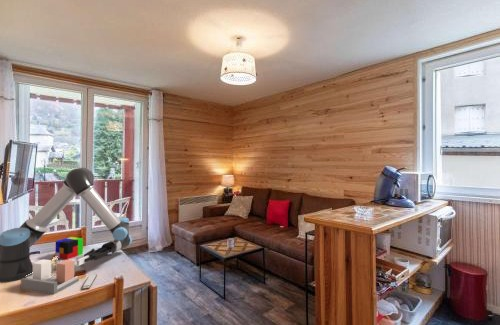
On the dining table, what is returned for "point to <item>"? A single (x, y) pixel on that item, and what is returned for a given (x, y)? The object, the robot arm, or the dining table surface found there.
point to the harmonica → (89, 282)
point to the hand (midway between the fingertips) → (77, 262)
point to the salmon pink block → (65, 271)
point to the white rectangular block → (42, 269)
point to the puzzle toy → (69, 247)
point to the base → (46, 285)
